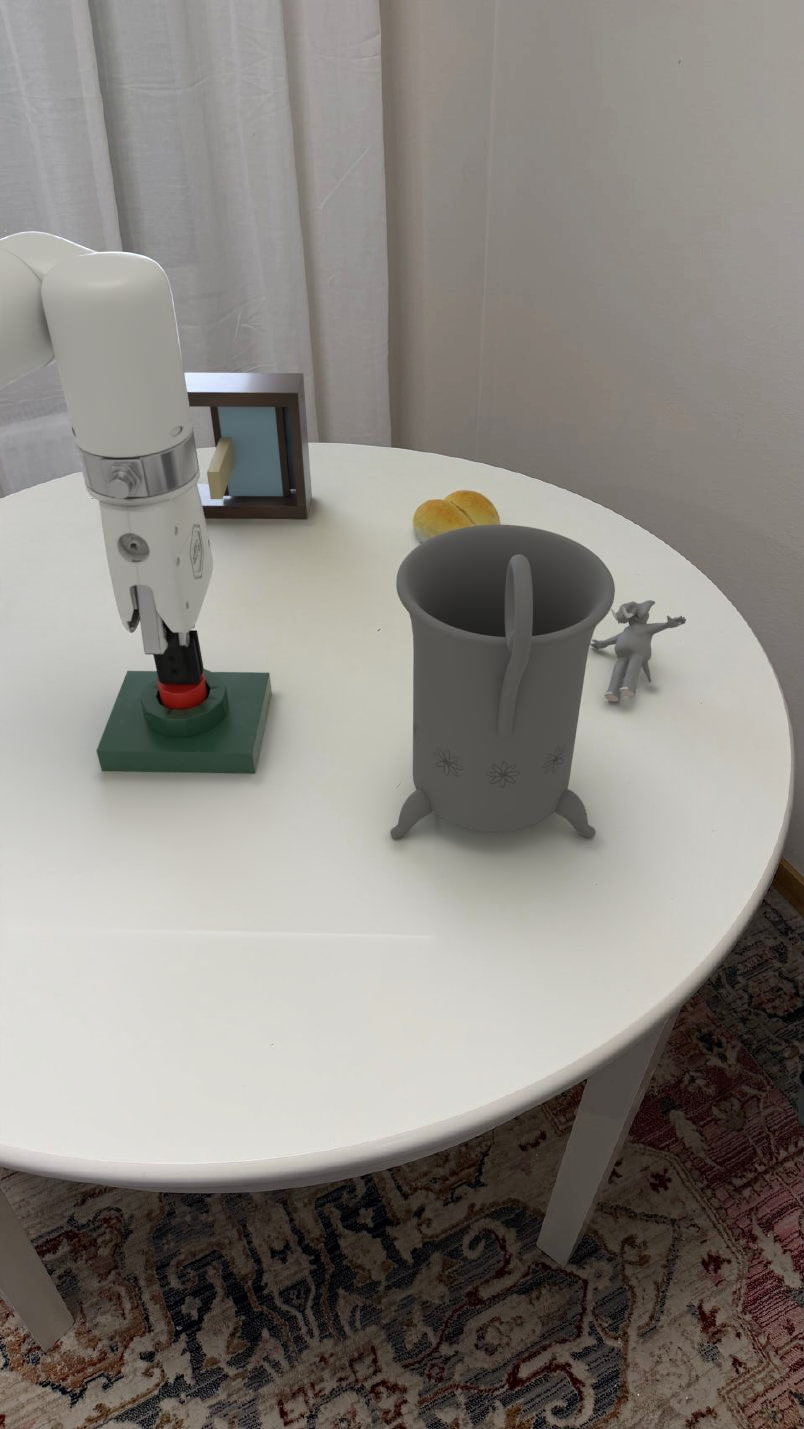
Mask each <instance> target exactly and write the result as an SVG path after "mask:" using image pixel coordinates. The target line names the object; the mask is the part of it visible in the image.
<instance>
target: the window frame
mask: <svg viewBox="0 0 804 1429" xmlns="http://www.w3.org/2000/svg"><path fill="white" fill-rule="evenodd" d="M184 374H185V381H186V387H187V393H188V400H189V406H190V408H193V407H194V408H196V407H197V408H199V407H200V408H201V407H202V408H203V407H204V408H205V407H207V408H208V407H209V408H210V407H284V418H285V429H286V441H287V452H288V464H289V475H290V487H291V496H290V497H283V496H223V499H211V497H210V490H209V483H197V486H198V490H199V494H200V498H201V503H202V507H203V512H204V517H205V519H266V520H267V519H274V520H275V519H277V520H280V519H281V520H286V519H287V520H308V519H309V514H310V508H311V504H312V499H313V491H312V490H313V489H312V476H311V464H310V462H311V461H310V450H309V449H310V448H309V435H308V434H309V433H308V422H307V420H308V419H307V408H306V392H305V379H304V373H302V372H184Z"/></svg>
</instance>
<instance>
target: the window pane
mask: <svg viewBox="0 0 804 1429" xmlns="http://www.w3.org/2000/svg"><path fill="white" fill-rule="evenodd" d="M209 411H210V417H211V418H210V419H211V425H212V432H213V440H214V447H215V449H214V452H213V455H212V457H211V460H210V463H209V465H208V468H207V470H206V475H207V476H206V477H207V484H209V490H210V497H211V499H223V496H283V497H290V496H291V487H290V475H289V464H288V452H287V441H286V429H285V418H284V407H209Z"/></svg>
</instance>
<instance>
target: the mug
mask: <svg viewBox="0 0 804 1429" xmlns="http://www.w3.org/2000/svg"><path fill="white" fill-rule="evenodd" d="M613 577H614V576H613V575H612V573H611V571H610V570H609V568H608V567H607V565H606V564H605V562H604V561H603V560H602V559H601V558H600V557H599V556H598V555H597V554H596V553H594V552H593V551H592V550H591V549H589V548H587V547H586V546H584V545H583V544H581V543H579V542H577V541H575V540H573V539H571V538H569V537H567V536H564V535H561V534H559V533H556V532H552V531H549V530H546V529H541V528H537V527H532V526H531V527H530V526H526V525H517V524H516V525H515V524H501V525H479V526H471V527H465V528H460V529H456V530H452V531H448V532H445V533H442V534H440V535H437V536H435V537H432V538H430V539H428V540H427V541H425V542H421V543H419V544H418V545H417V546H415V547H414V548H413V549H412V550H411V551H410V552H409V553H408V554H407V555H406V557H405V558H404V559H403V560H402V561H401V563H400V565H399V568H398V570H397V573H396V583H395V585H396V592H397V596H398V599H399V601H400V602H401V604H402V606H403V608H404V609H405V610H406V611H407V612H408V614H409V618H410V623H411V631H412V632H411V633H412V646H413V647H412V650H413V651H412V652H413V653H412V656H413V657H412V658H413V659H412V661H413V664H412V666H413V667H412V669H413V670H412V674H413V675H412V678H413V679H412V780H413V786H414V788H415V791H413V792H412V793H411V794H410V795H409V796H408V797H407V798H406V800H404V803H403V804H402V807H401V809H400V812H399V816H398V821H397V824H396V826H394V827H392V828H391V829H390V832H389V833H390V837H392V838H393V839H395V840H396V839H400V838H402V837H403V836H405V835H406V834H408V833H409V831H410V830H411V829H412V828H413V827H414V826H415V825H416V824H417V823H419V822H420V821H421V820H423V819H425V817H427V816H428V815H430V814H431V813H434V814H436V816H438V817H440V818H441V819H443V820H445V821H446V822H448V823H451V824H454V825H456V826H459V827H462V828H465V829H468V830H471V831H478V832H485V833H487V832H488V833H503V832H513V831H518V830H519V831H520V830H522V829H526V828H529V827H532V826H535V825H536V824H539V823H541V822H543V821H544V820H545V819H548V818H549V817H550V816H551V815H553V814H554V813H556V814H558V815H559V816H561V817H563V818H564V819H565V820H567V821H568V822H569V823H570V825H572V827H573V828H574V830H576V832H578V834H580V835H582V836H583V837H585V838H587V839H591V838H593V837H595V835H596V829H595V828H594V827H593V826H591V825H589V820H588V813H587V809H586V806H585V804H584V803H583V801H582V800H581V798H580V797H579V796H578V795H577V794H576V793H575V792H574V791H573V790H571V789H569V784H570V777H571V771H572V765H573V758H574V751H575V745H576V744H575V743H576V738H577V737H576V736H577V730H578V725H579V724H578V722H579V718H580V717H579V716H580V711H581V710H580V709H581V703H582V695H583V688H584V683H585V675H586V667H587V662H588V655H589V650H590V647H591V645H590V643H592V639H593V635H594V632H595V630H596V628H597V626H598V625H599V624H600V623H601V622H602V621H603V620H604V619H605V618H606V616H608V614H609V612H611V609H612V607H613V605H614V600H615V593H616V584H615V581H614V578H613Z"/></svg>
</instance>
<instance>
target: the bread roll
mask: <svg viewBox="0 0 804 1429" xmlns="http://www.w3.org/2000/svg"><path fill="white" fill-rule="evenodd" d="M479 525H502V524H501V518H500V516H499V512H498V509H497V508H496V507H495V505H494V503H492V501H491V500H490V499H489V498H488V497H487V496H485V495H483V494H481V493H479V492H478V491H474V490H468V489H466V490H465V489H464V490H463V489H462V490H456V491H453V492H451V493H450V494H448V495H447V496H446V497H445V498H444V499H438V498H437V499H436V498H435V499H434V498H433V499H429V500H427V501H424V502H423V503H422V504H420V505H419V506H418V507H417V509H416V510H415V512H414V514H413V518H412V529H413V532H414V535H415V537H416V538H417V540H419V541H420V542H421V543H423V542H425V541H427V540H428V539H430V538H432V537H435V536H437V535H440V534H442V533H445V532H448V531H452V530H456V529H460V528H465V527H471V526H479Z"/></svg>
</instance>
